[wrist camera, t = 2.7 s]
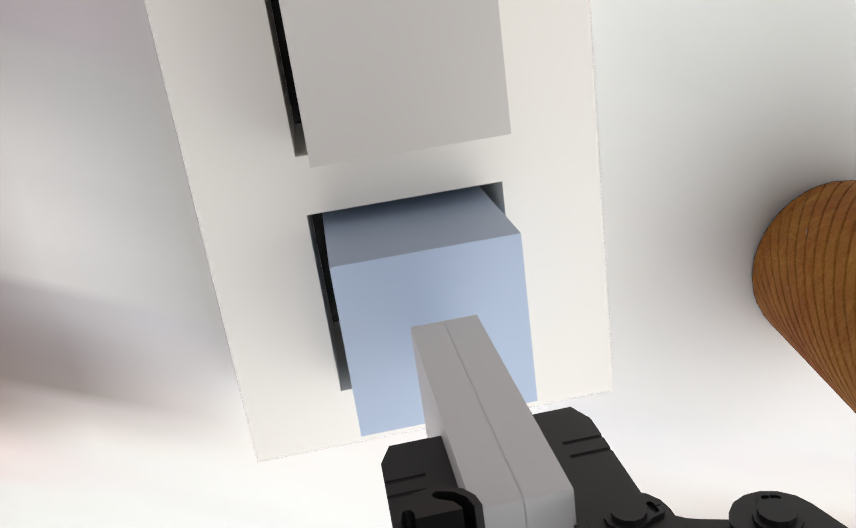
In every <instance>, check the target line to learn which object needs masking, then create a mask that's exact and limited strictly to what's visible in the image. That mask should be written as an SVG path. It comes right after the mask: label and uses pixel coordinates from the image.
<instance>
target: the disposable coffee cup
mask: <svg viewBox="0 0 856 528" xmlns="http://www.w3.org/2000/svg"><path fill="white" fill-rule="evenodd" d="M752 279H753V289H754V295H755V298H756V302H757V304H758V306H759V308H760V309H761V311H762V313H763V315H764V316H765V317H766V318H767V320H768V321H769V322H770V323H771V324H772V326H773V327H774V328H775V329H776V330H777V331H778V332H779V333H780V334H781V335H782V336H783V337H784V338H785V339H786V340H787V341H788V342H789V343H790V344H791V345H792V346H793V348H794V349H795V350H796V351H797V352H798V353H799V354H800V355H801V356H802V357H803V358H804V359H805V360H806V361H807V362H808V363H809V365H810V366H811V367H812V368H813V369H814V370H815V371H816V372H817V373H818V374H819V375H820V376H821V377H822V378H823V379H824V380H825V381H826V382H827V383H828V385H829V386H830V387H831V388H832V389H833V390H834V391H835V392H836V393H837V394H838V395H839V396H840V397H841V398H842V399H843V400H844V401H845V403H846V404H847V405H848V406H849V407H850V408H851V409H852V410H853V411H854V412H855V413H856V181H853V180H849V181H837V182H831V183H828V184H824V185H821V186H817V187H815V188H813V189H811V190H809V191H807V192H805V193H803V194H802V195H800V196H799V197H797V198H796V199H795V200H793V201H792V202H790V203H789V204H788V205H787V206H786V207H785V208H784V209H783V210H782V211H781V212H780V213H779V214H778V215H777V216H776V218H775V219H774V220H773V222H772V223H771V224H770V226H769V227H768V228H767V230H766V232H765V234H764V236H763V238H762V240H761V241H760V243H759V246H758V249H757V252H756V256H755V259H754V267H753V276H752Z"/></svg>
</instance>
